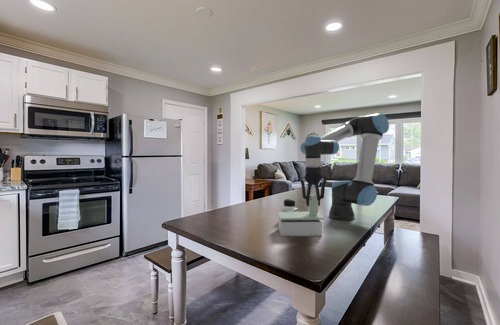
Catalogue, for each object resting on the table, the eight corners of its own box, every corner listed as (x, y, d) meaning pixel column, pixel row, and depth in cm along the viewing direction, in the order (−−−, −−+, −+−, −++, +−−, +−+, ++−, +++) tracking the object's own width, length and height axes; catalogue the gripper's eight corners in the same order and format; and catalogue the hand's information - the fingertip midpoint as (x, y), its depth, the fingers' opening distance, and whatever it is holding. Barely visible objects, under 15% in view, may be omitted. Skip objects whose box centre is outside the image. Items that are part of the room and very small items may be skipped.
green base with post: (316, 212, 131) (316, 192, 131) (323, 219, 118) (323, 197, 118) (277, 213, 132) (277, 193, 131) (280, 219, 119) (280, 197, 118)
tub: (315, 228, 131) (315, 215, 131) (322, 236, 119) (322, 222, 119) (278, 228, 132) (278, 216, 131) (281, 236, 120) (281, 222, 119)
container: (292, 223, 141) (292, 201, 140) (280, 221, 146) (280, 199, 145) (298, 220, 147) (298, 199, 147) (286, 218, 152) (286, 198, 151)
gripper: (326, 165, 128) (326, 210, 129) (295, 166, 128) (296, 210, 129) (331, 166, 120) (331, 213, 121) (298, 167, 120) (298, 214, 121)
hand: (313, 212), depth 125 cm, fingers closed on green base with post, 3 cm apart
